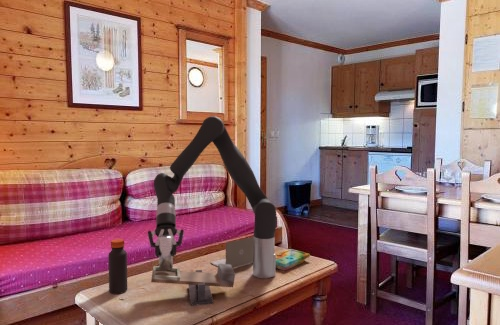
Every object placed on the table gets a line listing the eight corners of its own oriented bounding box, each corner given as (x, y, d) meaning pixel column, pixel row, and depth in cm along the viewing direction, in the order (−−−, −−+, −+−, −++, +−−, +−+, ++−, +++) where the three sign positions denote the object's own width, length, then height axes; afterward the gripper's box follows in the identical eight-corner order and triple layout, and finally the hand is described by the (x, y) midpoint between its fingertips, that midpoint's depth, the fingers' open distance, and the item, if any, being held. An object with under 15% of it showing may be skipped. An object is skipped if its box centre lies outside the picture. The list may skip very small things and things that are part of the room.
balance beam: (228, 277, 150) (230, 264, 150) (233, 287, 141) (235, 273, 140) (152, 272, 144) (154, 258, 143) (151, 282, 134) (153, 268, 134)
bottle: (114, 296, 142) (113, 244, 140) (105, 291, 146) (104, 240, 145) (130, 290, 147) (130, 240, 145) (121, 285, 151) (120, 237, 150)
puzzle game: (265, 256, 176) (290, 247, 191) (265, 266, 176) (290, 256, 191) (285, 262, 168) (309, 252, 183) (285, 272, 169) (309, 261, 184)
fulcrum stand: (208, 286, 152) (208, 268, 151) (213, 303, 136) (213, 284, 136) (188, 287, 150) (188, 270, 150) (190, 305, 135) (190, 286, 134)
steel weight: (172, 264, 144) (172, 234, 143) (172, 269, 140) (172, 238, 139) (159, 265, 143) (159, 234, 142) (159, 270, 139) (158, 238, 137)
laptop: (239, 256, 190) (239, 230, 189) (255, 262, 181) (256, 236, 180) (210, 263, 179) (210, 236, 178) (225, 271, 169) (226, 243, 168)
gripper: (146, 212, 146) (145, 252, 135) (184, 211, 148) (185, 250, 138) (147, 222, 151) (146, 261, 141) (184, 221, 154) (185, 259, 143)
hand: (165, 255), depth 139 cm, fingers closed on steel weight, 5 cm apart
